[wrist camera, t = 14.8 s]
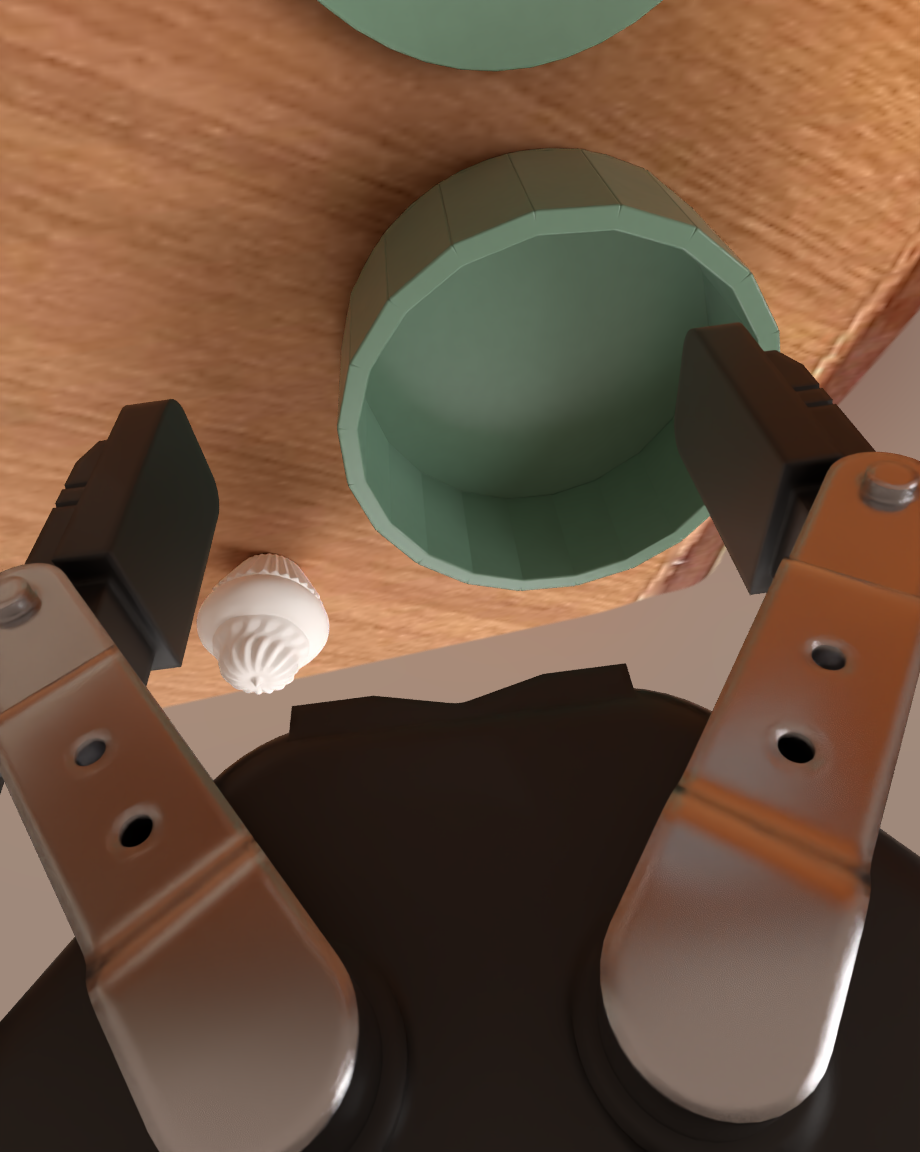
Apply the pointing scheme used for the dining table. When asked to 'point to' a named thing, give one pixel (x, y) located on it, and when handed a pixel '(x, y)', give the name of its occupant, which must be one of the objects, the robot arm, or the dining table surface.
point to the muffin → (263, 623)
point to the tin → (533, 369)
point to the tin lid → (489, 28)
